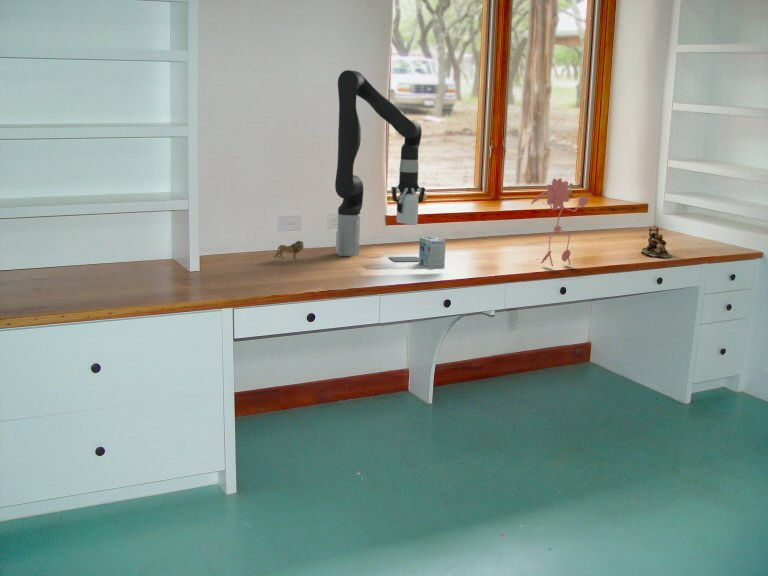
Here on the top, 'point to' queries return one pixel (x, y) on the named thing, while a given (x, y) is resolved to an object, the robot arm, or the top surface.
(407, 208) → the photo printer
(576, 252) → the top surface
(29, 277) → the top surface
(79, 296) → the top surface
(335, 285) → the top surface
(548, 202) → the figurine
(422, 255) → the light bulb box
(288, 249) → the lion figurine
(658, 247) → the bear figurine
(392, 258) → the slate pad
